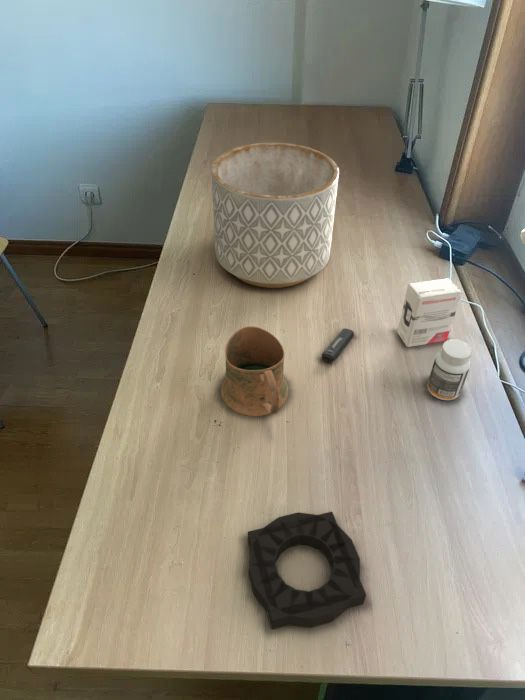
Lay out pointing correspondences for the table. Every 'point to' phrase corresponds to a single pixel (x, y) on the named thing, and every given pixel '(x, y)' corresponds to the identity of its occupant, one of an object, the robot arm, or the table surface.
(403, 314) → the ink box
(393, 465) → the table surface
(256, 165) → the planter
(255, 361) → the mug
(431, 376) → the pill bottle
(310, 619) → the base pad
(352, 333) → the usb stick
